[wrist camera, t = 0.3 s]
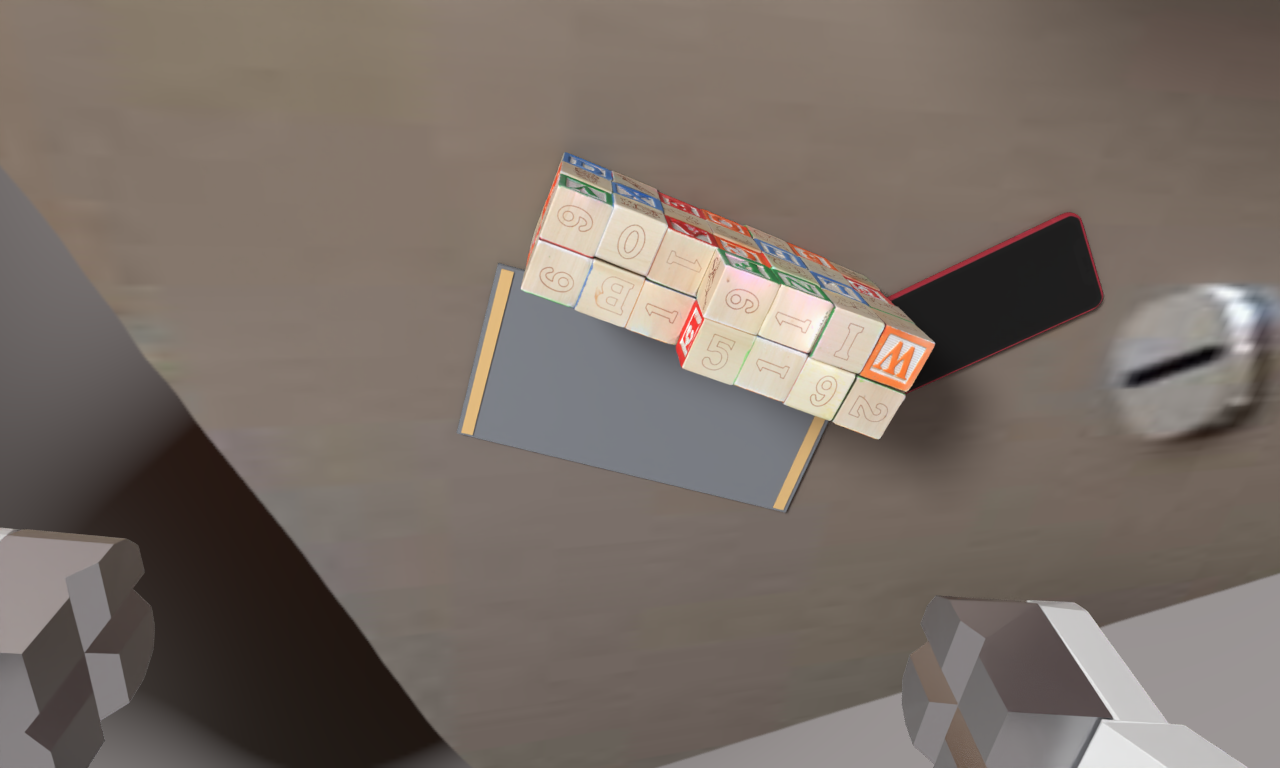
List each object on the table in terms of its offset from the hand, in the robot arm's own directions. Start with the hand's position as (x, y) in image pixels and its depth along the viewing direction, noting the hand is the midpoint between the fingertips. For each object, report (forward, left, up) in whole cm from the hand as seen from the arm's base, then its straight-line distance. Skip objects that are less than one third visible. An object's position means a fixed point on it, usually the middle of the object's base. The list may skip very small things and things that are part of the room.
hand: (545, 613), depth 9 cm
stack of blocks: (+9, +10, -45) cm, 47 cm away
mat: (+20, +10, -45) cm, 50 cm away
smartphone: (+7, +29, -46) cm, 55 cm away
